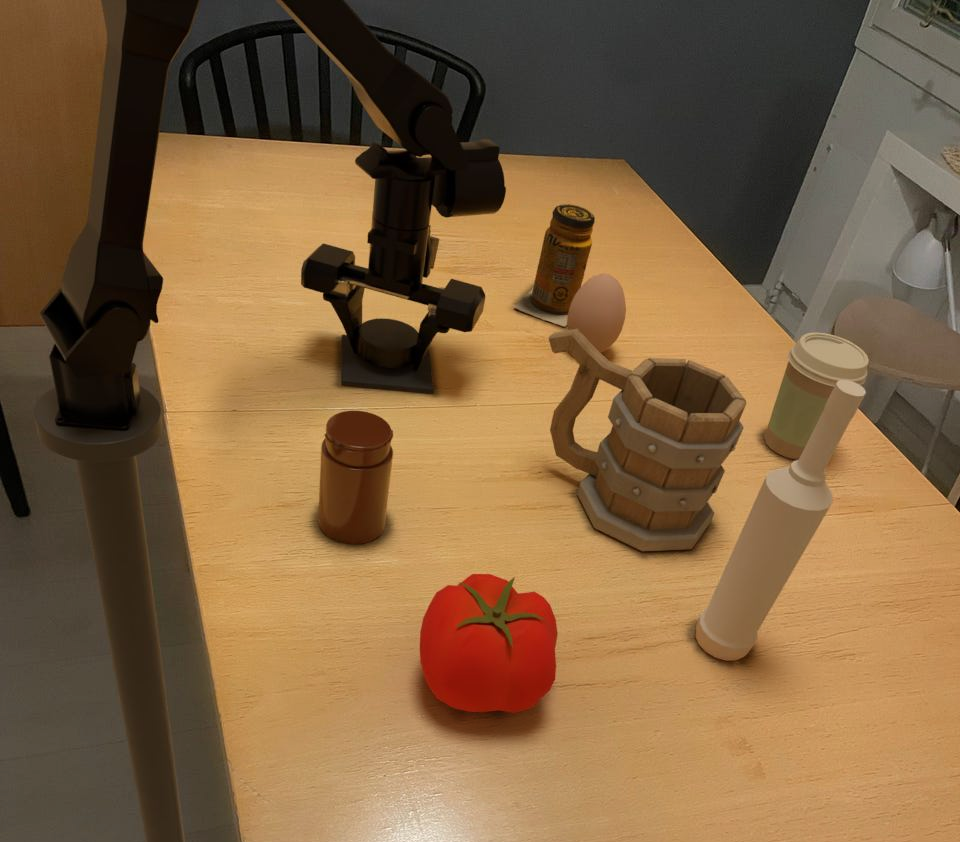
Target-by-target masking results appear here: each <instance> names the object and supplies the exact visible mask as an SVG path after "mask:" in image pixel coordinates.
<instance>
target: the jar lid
mask: <svg viewBox="0 0 960 842" xmlns="http://www.w3.org/2000/svg"><path fill="white" fill-rule="evenodd" d="M418 333H419V330H417V329H416V328H415V327H413V326H412V325H410V324H408V323H406V322H404V321H401V320H397V319H393V318H380V317H379V318H372V319H369V320H366V321H364V322H362V324H361V325H360V327H359V329H358V334H357V345H356V348H357V352H358V354H359V355H360V357H361V358H362V359H364V360H365V361H367V362H368V363H371V364H373V365H376V366H379V367H383V368H396V369H397V368H404V367H408V366H410V365H412V364H413V359H414V354H415V349H416V344H417V339H418Z"/></svg>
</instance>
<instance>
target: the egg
mask: <svg viewBox="0 0 960 842" xmlns="http://www.w3.org/2000/svg"><path fill="white" fill-rule="evenodd" d="M626 304H627V303H626V296H625V293H624V289H623V287H622V284H621V283H620V282H619V280H618V279H617V278H616V277H614V276H613V275H612V274H610V273H598V274H595V275H592V276H591V277H590V278H588V279H587V280H586V281H585V282H584V283H582V285H581V287H580V289H579V290H578V291H577V293H576V294H575V296H574V298H573V300H572V302H571V305H570V309H569V312H568V317H567V325H566V326H567V327H566V328H567V330H573V329H578V330H579V331H580V332H581V333H582V334H583V335H584V336H585V337H586V339H587V340H588V341H589V342H590V343H591V344H592V345H593V346H594V347H595V348H596V349H597V350H598V351H599V352H600V353H602V352H603V353H604V352H605V351H607V350H608V349H609V348H610V347H611V346H613V345H614V344H615V343H616V341H617V340H618V338H619V337H620V335H621V333H622V331H623V327H624V324H625V321H626V313H627V306H626Z"/></svg>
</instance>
